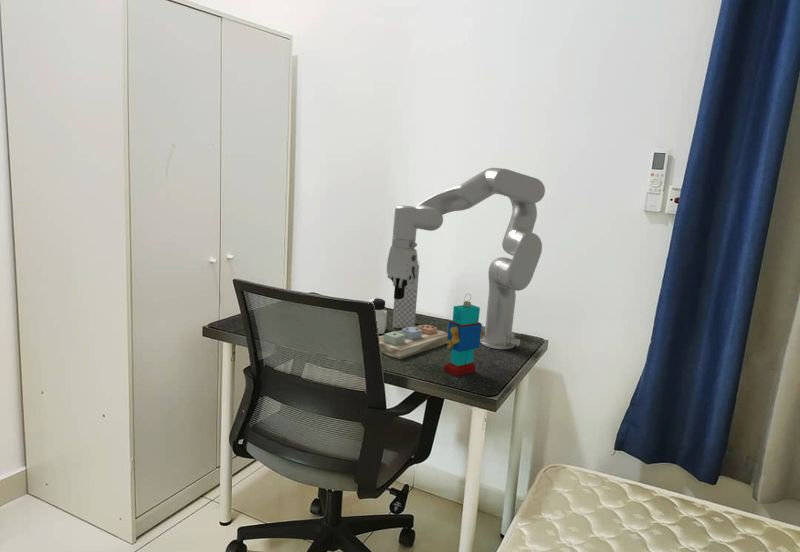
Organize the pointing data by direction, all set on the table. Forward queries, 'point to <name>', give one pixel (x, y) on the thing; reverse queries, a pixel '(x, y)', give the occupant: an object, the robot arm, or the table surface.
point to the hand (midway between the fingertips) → (398, 298)
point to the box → (406, 306)
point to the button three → (428, 329)
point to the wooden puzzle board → (413, 344)
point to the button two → (412, 333)
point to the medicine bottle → (380, 314)
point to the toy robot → (463, 338)
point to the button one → (394, 338)
